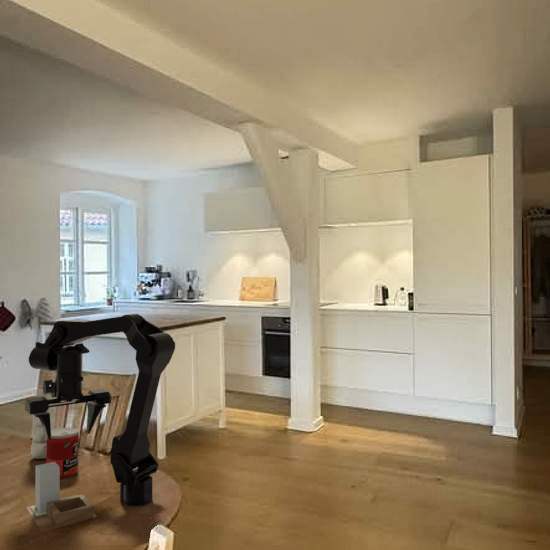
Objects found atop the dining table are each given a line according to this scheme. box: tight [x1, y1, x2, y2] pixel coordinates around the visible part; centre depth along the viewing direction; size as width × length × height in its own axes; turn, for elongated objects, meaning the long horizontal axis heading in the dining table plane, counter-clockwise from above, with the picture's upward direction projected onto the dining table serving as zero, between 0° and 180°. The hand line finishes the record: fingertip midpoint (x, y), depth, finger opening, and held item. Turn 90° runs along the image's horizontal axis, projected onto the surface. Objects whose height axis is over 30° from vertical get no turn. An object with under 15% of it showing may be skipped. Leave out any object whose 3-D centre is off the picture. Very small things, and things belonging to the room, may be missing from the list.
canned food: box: [45, 427, 80, 479], centre depth 139 cm, size 8×8×11 cm
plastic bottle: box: [30, 386, 58, 460], centre depth 151 cm, size 6×7×20 cm
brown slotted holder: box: [25, 493, 98, 533], centre depth 114 cm, size 14×11×4 cm
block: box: [34, 462, 61, 513], centre depth 115 cm, size 4×4×9 cm
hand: (69, 436), depth 127 cm, fingers open, 9 cm apart
